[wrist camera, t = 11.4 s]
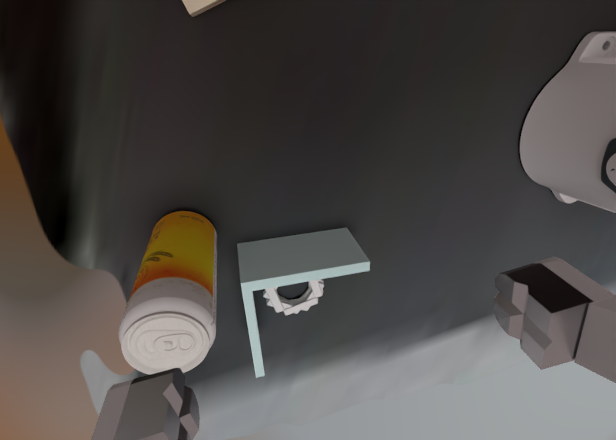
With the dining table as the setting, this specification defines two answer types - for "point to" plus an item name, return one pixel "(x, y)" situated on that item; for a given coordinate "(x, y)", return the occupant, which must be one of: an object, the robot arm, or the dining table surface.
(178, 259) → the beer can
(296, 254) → the right angle wall
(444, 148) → the dining table surface
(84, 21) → the dining table surface
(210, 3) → the oak base block
